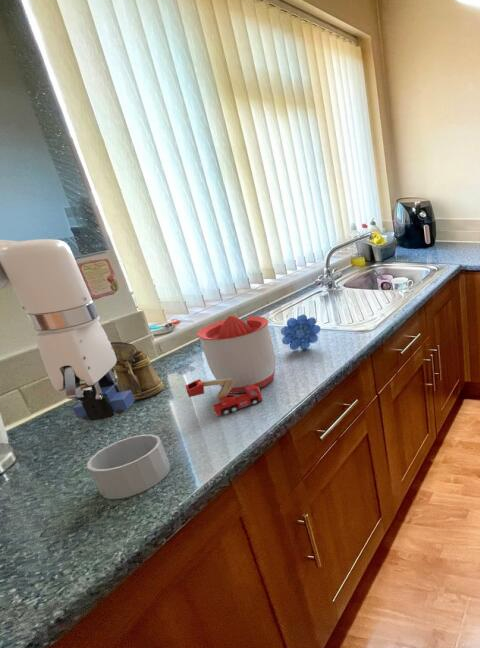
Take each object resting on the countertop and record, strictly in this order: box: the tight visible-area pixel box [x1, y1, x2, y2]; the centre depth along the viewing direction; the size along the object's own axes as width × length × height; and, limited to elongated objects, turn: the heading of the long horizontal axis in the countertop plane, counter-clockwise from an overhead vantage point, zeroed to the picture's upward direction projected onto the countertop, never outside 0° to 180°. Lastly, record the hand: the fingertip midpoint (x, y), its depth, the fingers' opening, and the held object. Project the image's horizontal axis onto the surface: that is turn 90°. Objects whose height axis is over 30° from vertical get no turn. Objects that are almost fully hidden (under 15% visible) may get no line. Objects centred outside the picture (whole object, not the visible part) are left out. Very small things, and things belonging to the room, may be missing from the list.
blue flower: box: [280, 313, 321, 351], centre depth 130 cm, size 12×7×12 cm, turn 109°
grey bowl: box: [86, 434, 172, 500], centre depth 76 cm, size 10×10×6 cm
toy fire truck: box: [185, 378, 263, 417], centre depth 97 cm, size 3×14×10 cm, turn 134°
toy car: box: [72, 386, 136, 421], centre depth 72 cm, size 7×3×4 cm, turn 113°
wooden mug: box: [110, 341, 165, 402], centre depth 102 cm, size 9×14×18 cm, turn 35°
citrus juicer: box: [196, 315, 276, 394], centre depth 108 cm, size 16×17×20 cm
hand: (108, 411), depth 72 cm, fingers closed on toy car, 3 cm apart
